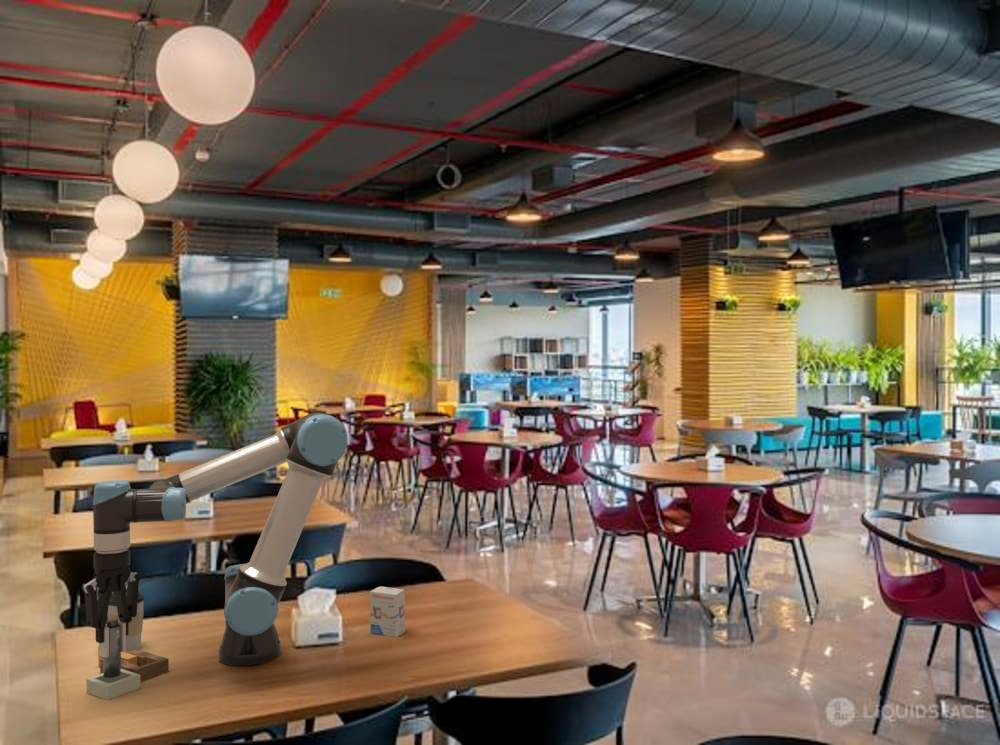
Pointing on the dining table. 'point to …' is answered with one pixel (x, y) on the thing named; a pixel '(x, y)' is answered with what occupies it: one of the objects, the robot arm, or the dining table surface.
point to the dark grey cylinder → (113, 650)
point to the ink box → (387, 611)
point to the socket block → (144, 664)
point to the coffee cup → (134, 626)
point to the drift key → (123, 657)
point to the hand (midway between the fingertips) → (112, 653)
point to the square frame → (113, 684)
